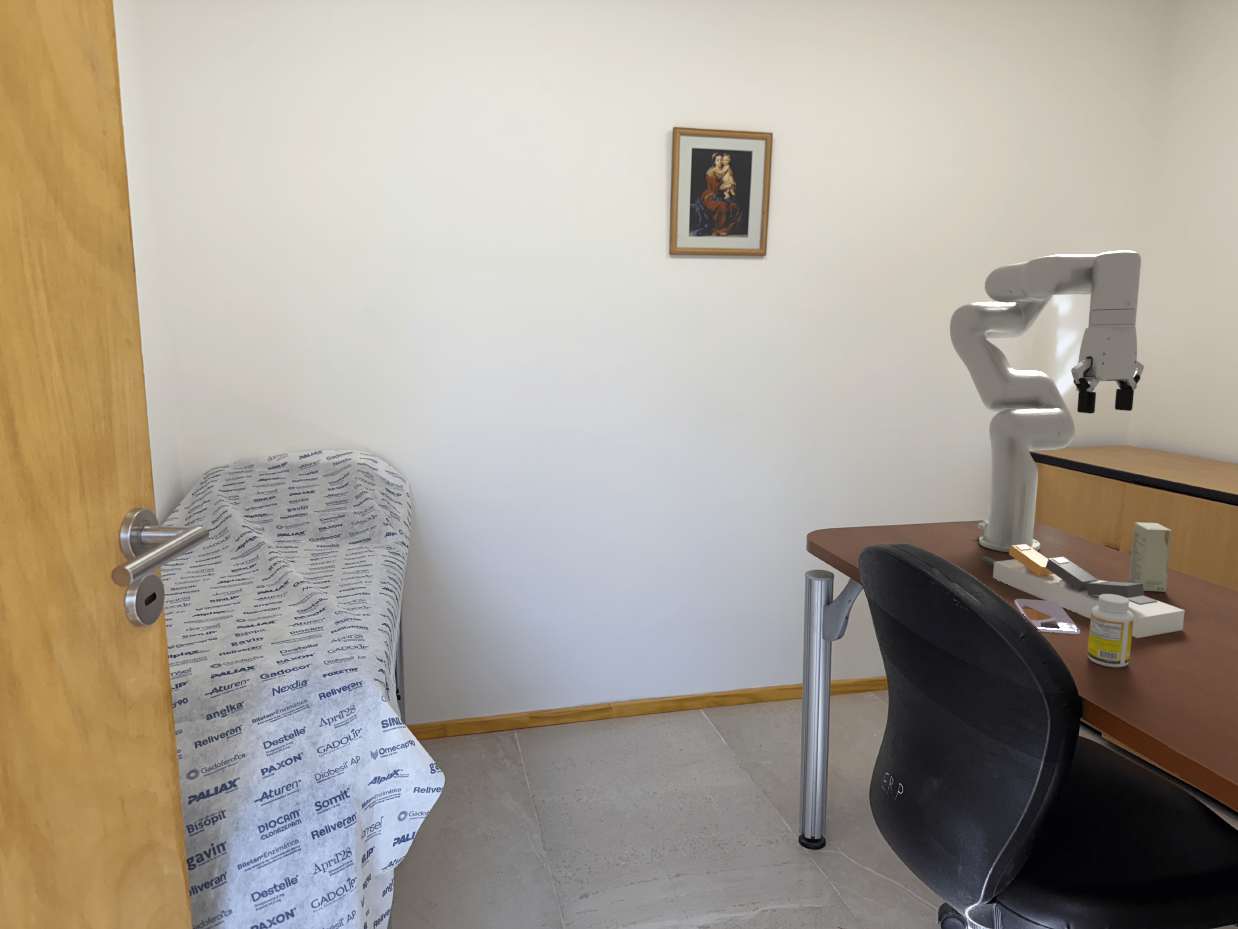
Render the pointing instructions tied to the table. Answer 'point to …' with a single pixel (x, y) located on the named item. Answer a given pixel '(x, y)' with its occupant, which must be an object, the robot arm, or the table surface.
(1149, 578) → the skincare box
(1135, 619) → the power strip
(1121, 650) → the supplement bottle
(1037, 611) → the mobile phone
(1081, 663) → the table surface
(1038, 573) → the rocker
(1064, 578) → the block
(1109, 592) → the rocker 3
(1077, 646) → the table surface
